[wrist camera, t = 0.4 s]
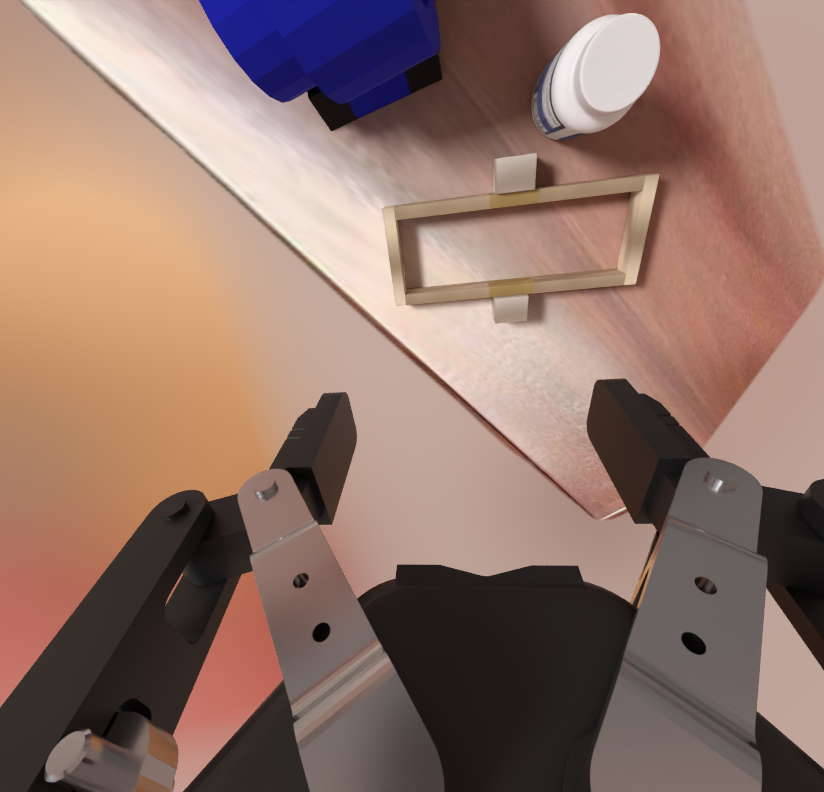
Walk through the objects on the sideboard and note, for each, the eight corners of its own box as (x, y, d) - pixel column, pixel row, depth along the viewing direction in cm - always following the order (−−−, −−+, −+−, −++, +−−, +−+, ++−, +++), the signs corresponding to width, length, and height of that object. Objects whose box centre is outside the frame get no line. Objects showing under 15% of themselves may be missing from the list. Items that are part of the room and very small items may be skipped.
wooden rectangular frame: (381, 174, 31) (376, 175, 28) (654, 137, 28) (671, 134, 26) (401, 322, 38) (398, 331, 36) (620, 303, 35) (632, 312, 33)
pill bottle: (619, 64, 26) (701, 15, 18) (579, 150, 29) (635, 142, 20) (551, 37, 25) (603, -27, 17) (517, 127, 28) (548, 110, 20)
